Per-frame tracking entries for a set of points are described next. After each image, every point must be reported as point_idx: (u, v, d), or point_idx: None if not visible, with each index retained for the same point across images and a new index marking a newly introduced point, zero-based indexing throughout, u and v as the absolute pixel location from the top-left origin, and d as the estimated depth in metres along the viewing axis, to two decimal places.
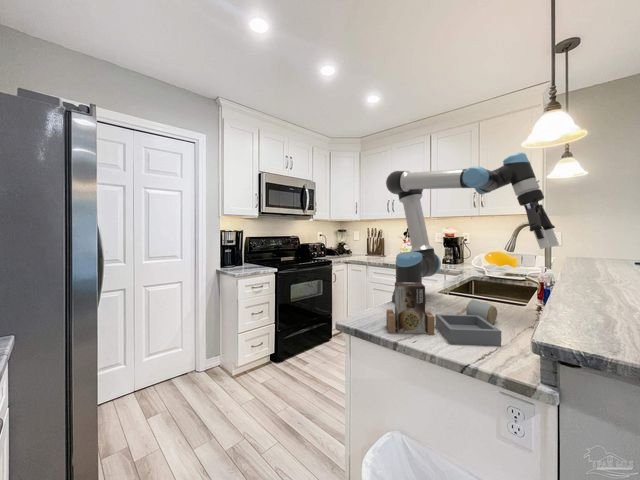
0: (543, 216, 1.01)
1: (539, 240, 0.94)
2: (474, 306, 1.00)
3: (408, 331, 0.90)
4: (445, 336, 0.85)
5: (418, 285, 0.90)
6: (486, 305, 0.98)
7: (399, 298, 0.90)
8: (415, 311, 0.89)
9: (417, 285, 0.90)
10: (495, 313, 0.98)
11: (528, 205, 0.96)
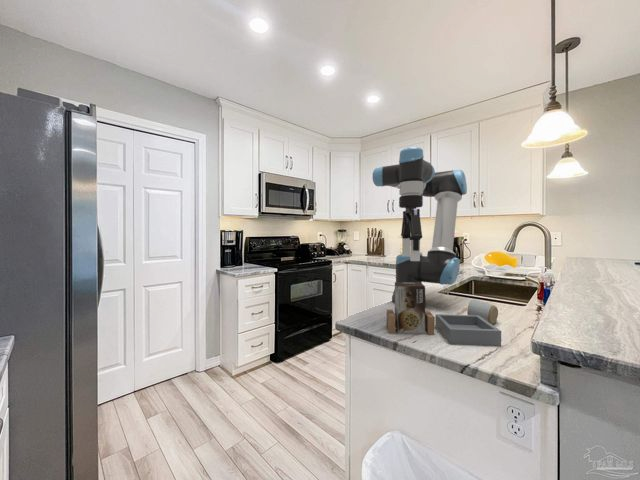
0: None
1: None
2: (475, 306, 1.00)
3: (408, 331, 0.90)
4: (445, 336, 0.85)
5: (418, 285, 0.90)
6: (487, 305, 0.98)
7: (399, 298, 0.90)
8: (415, 311, 0.89)
9: (417, 285, 0.90)
10: (496, 313, 0.98)
11: None
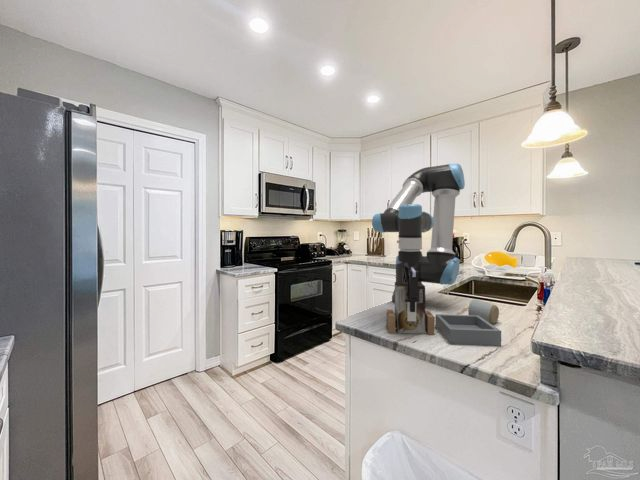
0: None
1: None
2: (476, 305, 1.00)
3: (408, 331, 0.90)
4: (445, 336, 0.85)
5: (418, 285, 0.90)
6: (488, 304, 0.98)
7: (399, 298, 0.90)
8: None
9: None
10: (497, 312, 0.99)
11: None
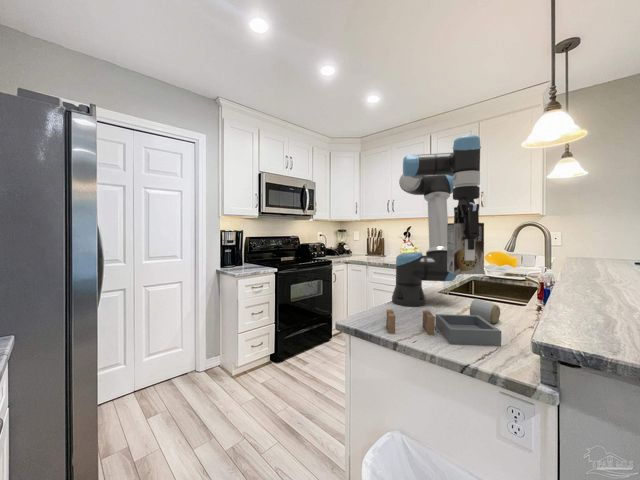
0: None
1: None
2: (477, 305, 1.01)
3: (465, 272, 0.84)
4: (445, 336, 0.85)
5: None
6: (489, 304, 0.99)
7: (455, 236, 0.84)
8: None
9: None
10: (498, 312, 0.99)
11: None
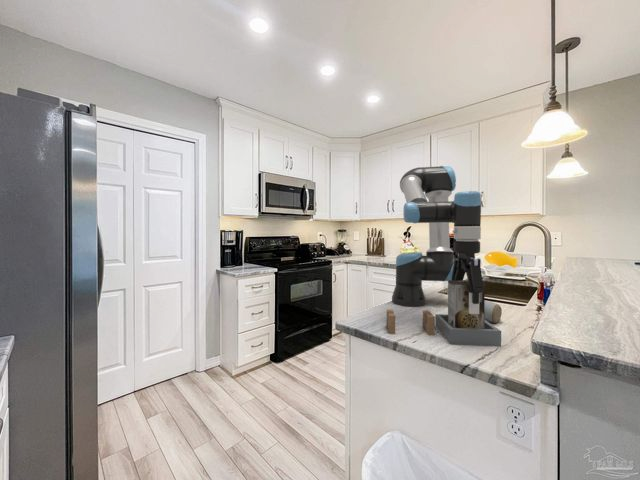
0: None
1: None
2: None
3: None
4: (445, 336, 0.85)
5: None
6: (491, 304, 0.99)
7: (456, 297, 0.84)
8: None
9: None
10: (500, 311, 1.00)
11: None
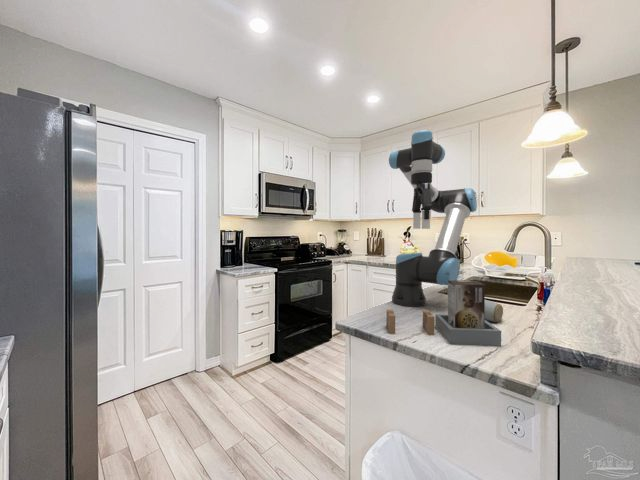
0: None
1: None
2: None
3: None
4: (445, 336, 0.85)
5: (477, 283, 0.84)
6: (492, 303, 1.00)
7: (456, 297, 0.84)
8: (473, 311, 0.84)
9: (475, 283, 0.85)
10: (501, 311, 1.00)
11: None
